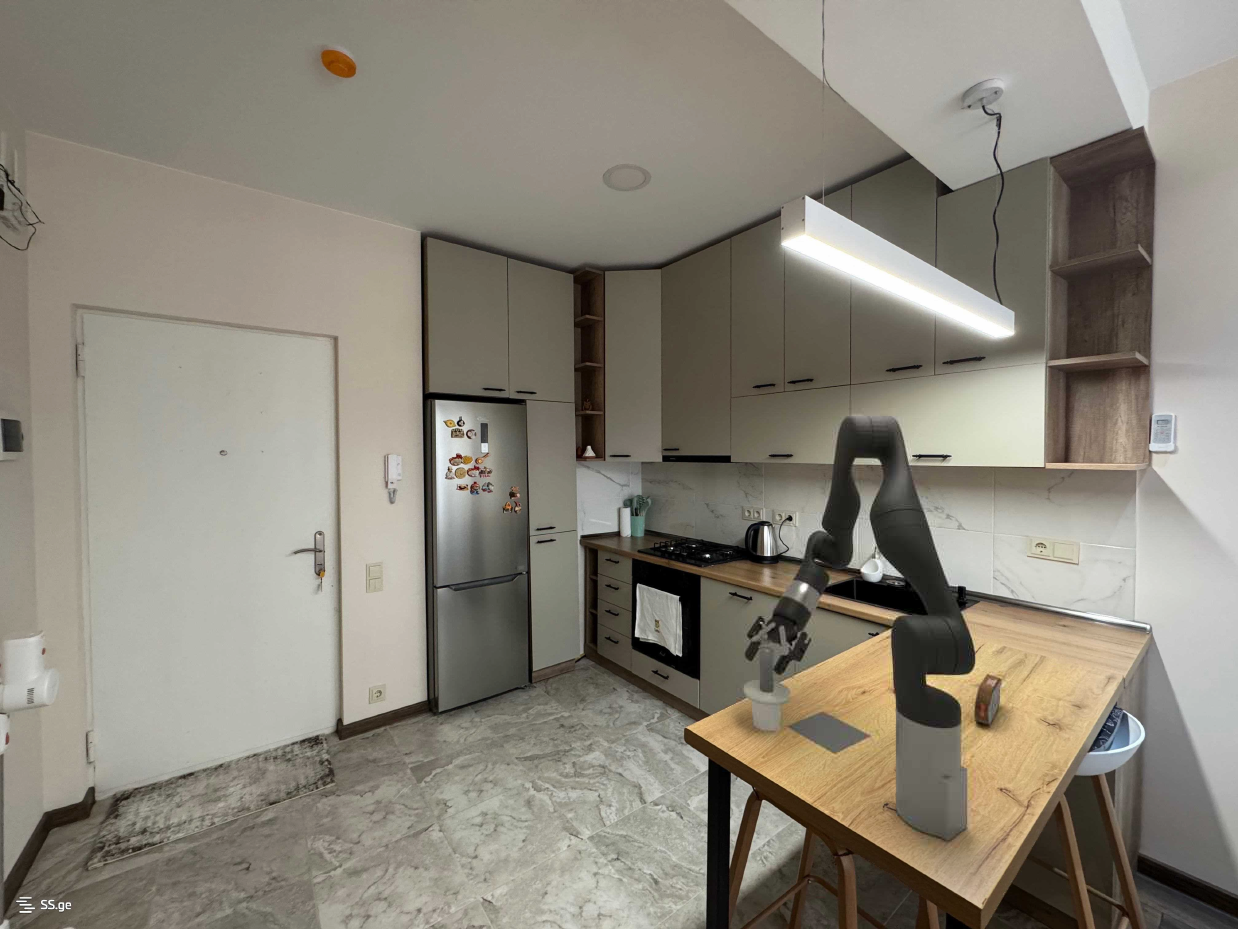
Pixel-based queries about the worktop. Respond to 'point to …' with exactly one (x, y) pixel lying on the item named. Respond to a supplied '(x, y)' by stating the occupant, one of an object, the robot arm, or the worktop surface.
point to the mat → (829, 732)
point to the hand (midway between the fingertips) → (761, 665)
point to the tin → (987, 699)
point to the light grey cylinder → (766, 716)
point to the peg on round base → (767, 682)
